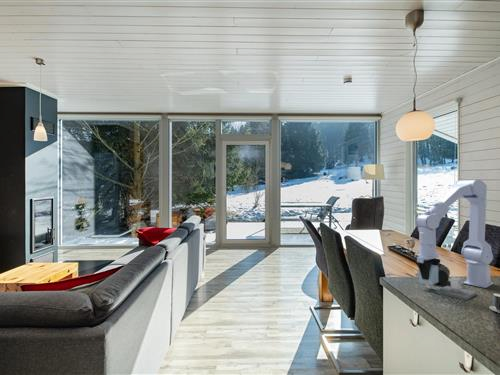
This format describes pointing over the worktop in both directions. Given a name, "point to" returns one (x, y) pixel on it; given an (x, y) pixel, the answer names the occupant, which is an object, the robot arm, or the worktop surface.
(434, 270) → the pale blue cube
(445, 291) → the board
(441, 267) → the end cap
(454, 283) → the post
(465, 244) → the robot arm
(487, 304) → the worktop surface
